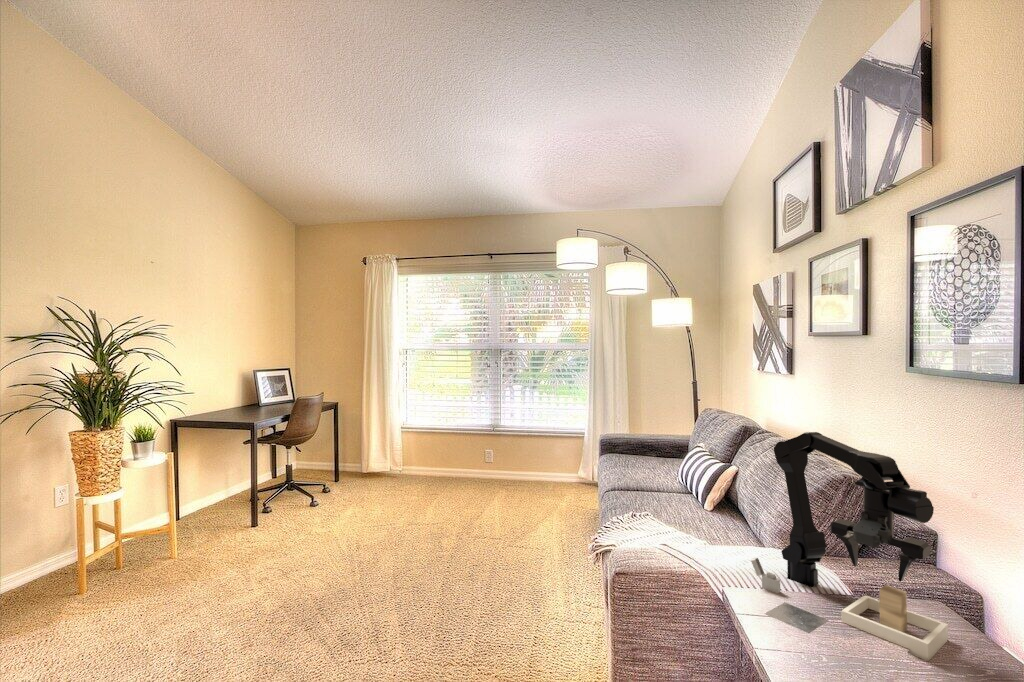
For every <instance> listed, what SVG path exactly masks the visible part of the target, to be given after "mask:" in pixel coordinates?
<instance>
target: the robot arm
mask: <svg viewBox="0 0 1024 682" xmlns="http://www.w3.org/2000/svg"><path fill="white" fill-rule="evenodd" d="M815 451H817V452H819V453H822V454H823V455H825V456H828V457H829V458H833V459H835V460H837V461H838V462H840V463H843V464H845V465H847V466H848V467H851V469H852V470H853V471H854V473H856V474H857V475H859V476H860V477H861V478H860V479H858V480H856V481H855V482H854V485H856V486H859V487H862V488H863V507H862V509H863V510H862V511H861V514H860V518H859V521H858V522H854V521H851V520H847V519H843V518H839V519H837V520H835V521H833V522H831V523H830V525H829V526H830V527H829V529H830V530H829V533H831V534H832V535H835V537H836V538H837V539H839V540H841V541H842V543H843V544H844V546H845V548H846V550H847V552H848V555H849V557H850V560H851V563H852V565H853V567H857V566H858V561H859V544H863V545H865V546H868V547H870V548H874V549H876V548H879V547H880V544H884V545H889V546H893V547H896V548H899V549H900V551H901V553H899V555H898V556H899V569H898V581H899V582H903V581H904V579H905V576H906V574H907V572H908V570H909V569H910V567H911V565H912V564H913V562H915V561H918V560H924V559H926V558H927V557H929V556H930V555H931V545H930V544H929V543H928V542H927V541H924V540H922V539H917V538H913V537H911V536H910V537H909V536H908V537H907V538H906V537H905V539H900V538H897V537H894V535H895V530H894V529H893V528H894V525H893V524H894V519H895V516H899V517H903V518H907V519H908V520H913V521H916V522H918V523H921V524H922V523H923V524H926V523H929V521H930V520H931V519H932V518H933V515H934V508H935V507H934V506H933V502H932V500H931V499H930V498H928V496H927V495H928V494H927V493H928V492H927V491H924V490H917V489H915V488H911V486H910V484H909V483H908V481H907V479H906V478H905V477H904V475H903V474H902V472H901V470H900V469H899V467H898V464H897V461H896V460H895V459H894V458H892V457H891V456H888V455H884V454H879V453H874V452H867V451H863V450H859V449H858V448H857V449H856V448H855V447H851V446H849V445H847V444H845V443H843V442H839V441H837V440H835V439H833V438H830V437H828V436H825V435H823V434H822V433H820V432H819V431H818V432H817V431H812V432H811V431H810V432H809V431H808V432H807V431H806V432H803V433H802V434H799V435H798V436H795V437H792V438H789V439H786V440H783V441H781V440H780V441H778V442H777V443H776V444H775V445H774V447H773V453H774V456H775V460H776V463H777V464H778V467H780V469H781V470H782V471H783V472H784V477H785V484H786V488H787V494H788V500H789V506H790V511H791V516H792V517H791V518H792V524H793V526H792V527H791V531H790V532H789V545H787V546H786V547H784V548H783V549H782V550H781V551H780V552H781V555H782V559H783V560H785V561H787V564H786V565H787V576H786V579H787V580H790V581H793V582H796V583H798V584H800V585H804V586H805V587H806V586H807V587H809V588H814V587H816V586H818V585H819V574H818V573H819V570H818V569H817V563H820V562H821V561H822V557H824V555H825V554H826V551H827V548H828V545H827V543H826V538H825V536H826V535H825V532H824V531H819V530H818V529H817V527H816V526H815V524H814V520H813V514H812V507H811V503H810V502H811V501H810V497H809V492H808V486H807V481H806V476H805V475H806V474H805V470H806V468H807V465H808V463H809V456H808V455H810V454H811V453H813V452H815Z"/></svg>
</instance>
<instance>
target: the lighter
mask: <svg viewBox="0 0 1024 682" xmlns="http://www.w3.org/2000/svg"><path fill="white" fill-rule="evenodd" d="M750 562H751V564H752V568H753V570H754V571H755V574H756V576H757V577H758V576H759V577H760V576H761V588H762V589H764V590H766V591H767V590H768V591H769V592H772V593H774V594H780V593H781V579H780V578H778V577H777V575H776V574H775V573H773V572H769V571H767V572H766V573H765V572H764V569H763V566H762V564H761V562H760V559H759V557H755V558H752V559H750Z"/></svg>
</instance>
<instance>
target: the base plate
mask: <svg viewBox="0 0 1024 682" xmlns="http://www.w3.org/2000/svg"><path fill="white" fill-rule="evenodd" d="M764 615H767V616H769V617H771V618H773V619H776V620H777V621H780V622H781V623H784V624H787V625H790V626H791V627H793V628H796V629H798V630H799V631H803V632H805V633H807V634H811V632H813V631H814V630H816V629H818V628H819V627H821V626H822V625H824V624H825V623H827V622H829V620H828V619H827V618H824V617H823V616H820V615H816V614H815V613H812V612H809V611H807V610H804V609H803V608H800V607H797V606H794V605H792V604H790V603H787V602H783V603H781V604H779V605H777V606H776V607H774V608H772V609H769V610H768V611H767V612H764Z"/></svg>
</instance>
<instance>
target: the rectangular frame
mask: <svg viewBox="0 0 1024 682" xmlns="http://www.w3.org/2000/svg"><path fill="white" fill-rule="evenodd" d="M868 609H870V610H872V611H875V612H878V613H880V605H879V599H876V598H874V597H871V596H868V595H863V596H862V597H860V598H858V599H857V600H855V601H854V602H852V603H851V604H849V605H847V606H846V607H845V608H844V609H842V610H841V613H840V615H841V618H840V619H841V620H840V621H841V622H842V623H844V624H847V625H849V626H852V627H854V628H856V629H858V630H861V631H864V632H866V633H869V634H870V635H871V634H872V635H874V636H876V637H878V638H881V639H884V640H886V641H889V642H891V643H894V644H896V645H898V646H901V647H904V648H906V649H908V651H907V652H906V653H907V654H909V655H912V656H914V657H917V658H918V659H922V660H924V661H926V660H927V662H929V661H930V660H931V658H933V657H934V656H935V654H936V653H937V652H939V650H940V649H942V647H943V646H944V645H945V644H946V643H947V642H948V641H949V624H948V623H945V622H943V621H939V620H937V619H935V618H933V617H932V618H931V617H929V616H925V615H922V614H921V613H920V614H919V613H918V612H915V611H911V610H908V609H907V624H910V625H913V626H915V627H918V628H921V629H923V630H925V631H928V632H927V633H925V635H923V637H921V638H918V637H916V636H914V635H911V634H909V633H906V632H904V633H903V632H901V631H898V630H895V629H893V628H890V627H887V626H885V625H882V624H880V622H877V621H875V620H871V619H869V618H866V617H863V616H861V614H862V613H864V612H865V611H866V610H868ZM947 640H948V641H947Z"/></svg>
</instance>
